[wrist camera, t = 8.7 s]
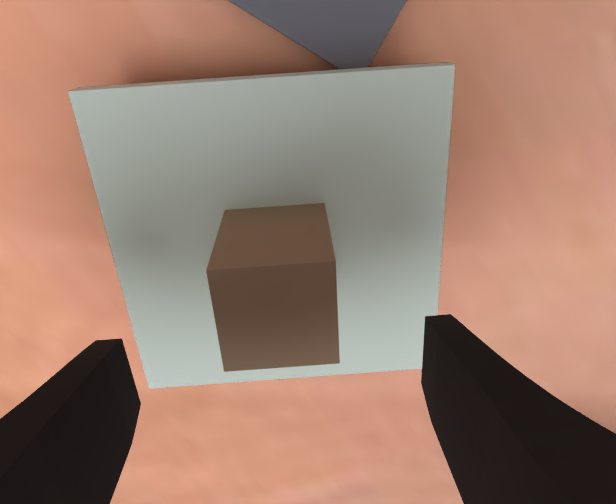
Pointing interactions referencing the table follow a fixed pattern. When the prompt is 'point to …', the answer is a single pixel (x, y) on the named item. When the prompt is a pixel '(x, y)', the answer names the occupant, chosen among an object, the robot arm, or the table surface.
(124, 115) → the lid
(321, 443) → the table surface
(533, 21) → the table surface
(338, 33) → the mat
